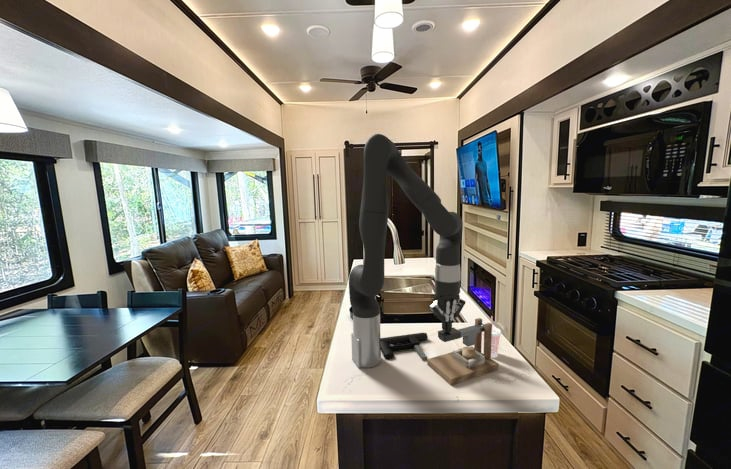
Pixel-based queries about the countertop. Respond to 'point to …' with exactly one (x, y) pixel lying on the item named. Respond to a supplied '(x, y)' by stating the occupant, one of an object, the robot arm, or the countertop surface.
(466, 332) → the nutcracker lever
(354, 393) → the countertop surface
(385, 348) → the black toy gun
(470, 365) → the nutcracker bench
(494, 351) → the beverage cup
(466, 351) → the wooden nut
